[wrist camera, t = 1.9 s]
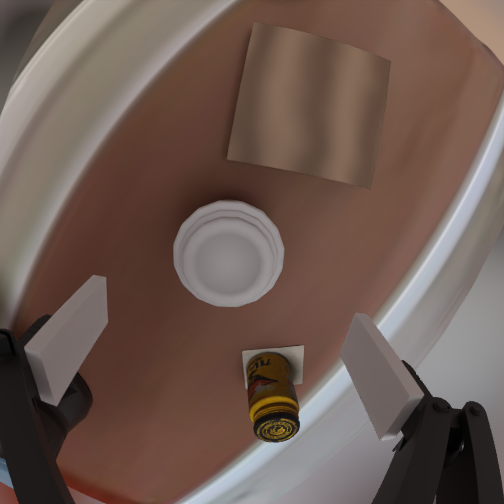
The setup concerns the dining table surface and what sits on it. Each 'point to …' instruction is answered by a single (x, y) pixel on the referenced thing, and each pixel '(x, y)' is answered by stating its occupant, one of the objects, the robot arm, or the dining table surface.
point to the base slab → (310, 106)
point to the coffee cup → (228, 253)
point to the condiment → (273, 391)
